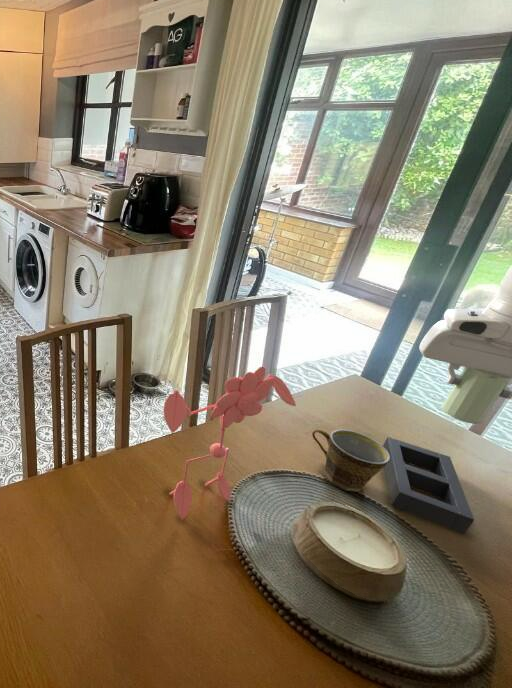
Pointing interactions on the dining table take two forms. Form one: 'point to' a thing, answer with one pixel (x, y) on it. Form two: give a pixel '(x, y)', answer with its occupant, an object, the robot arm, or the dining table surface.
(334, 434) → the ceramic cup
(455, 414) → the bottle
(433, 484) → the holder
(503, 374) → the robot arm
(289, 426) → the dining table surface
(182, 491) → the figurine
